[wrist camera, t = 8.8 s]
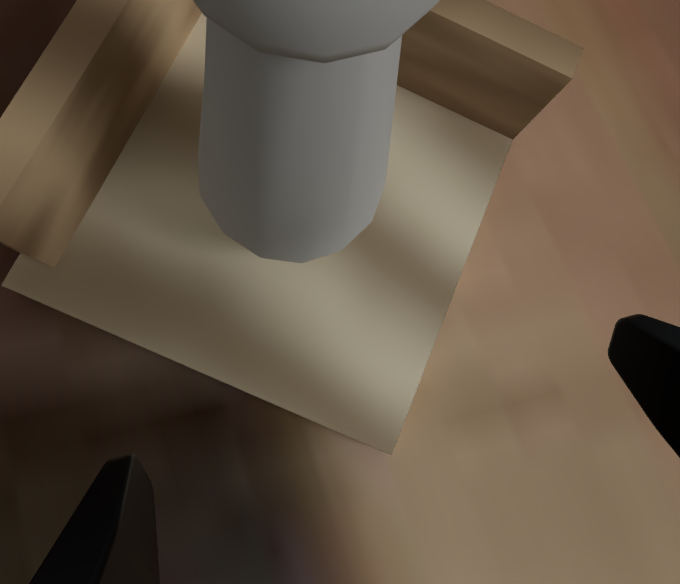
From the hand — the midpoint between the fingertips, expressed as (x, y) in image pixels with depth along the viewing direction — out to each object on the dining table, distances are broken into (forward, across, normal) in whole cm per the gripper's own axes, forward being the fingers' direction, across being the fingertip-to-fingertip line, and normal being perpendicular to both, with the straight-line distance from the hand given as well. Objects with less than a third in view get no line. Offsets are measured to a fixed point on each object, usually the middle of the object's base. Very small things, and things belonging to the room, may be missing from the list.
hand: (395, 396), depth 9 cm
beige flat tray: (+12, 0, +1) cm, 12 cm away
